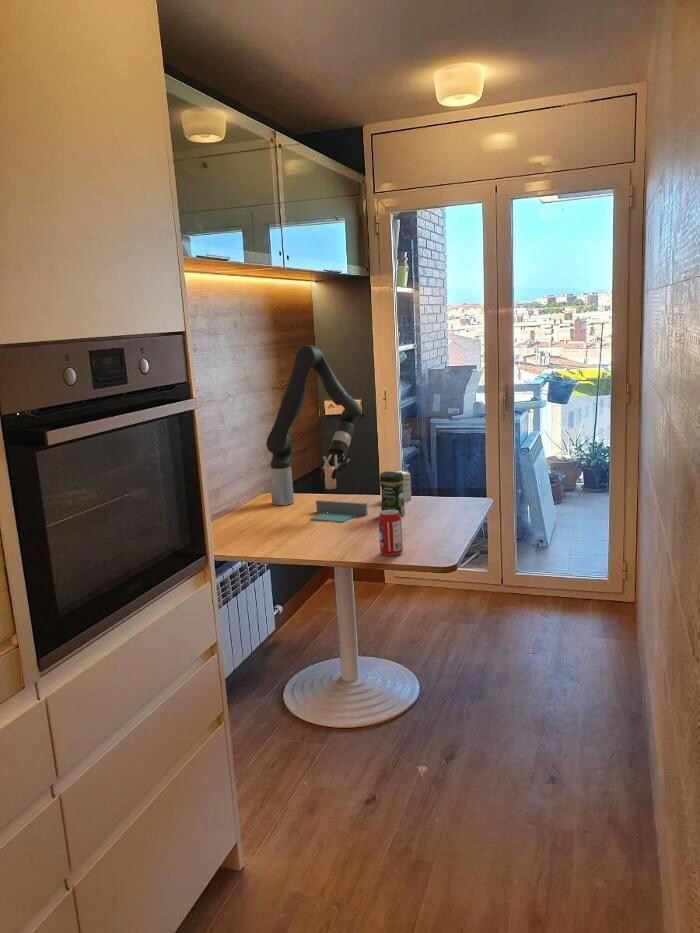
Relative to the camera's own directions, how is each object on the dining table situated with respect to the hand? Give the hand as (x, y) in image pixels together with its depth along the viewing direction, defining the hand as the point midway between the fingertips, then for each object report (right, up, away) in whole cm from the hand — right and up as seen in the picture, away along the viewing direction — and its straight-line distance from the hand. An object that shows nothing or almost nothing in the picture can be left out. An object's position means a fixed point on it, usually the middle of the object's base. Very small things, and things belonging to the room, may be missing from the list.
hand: (327, 477), depth 302 cm
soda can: (+23, -26, -48) cm, 60 cm away
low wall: (+6, -15, +11) cm, 20 cm away
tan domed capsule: (+1, -4, +2) cm, 5 cm away
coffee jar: (+27, -16, +2) cm, 32 cm away
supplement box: (+32, -11, +29) cm, 44 cm away
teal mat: (+2, -17, +5) cm, 18 cm away
